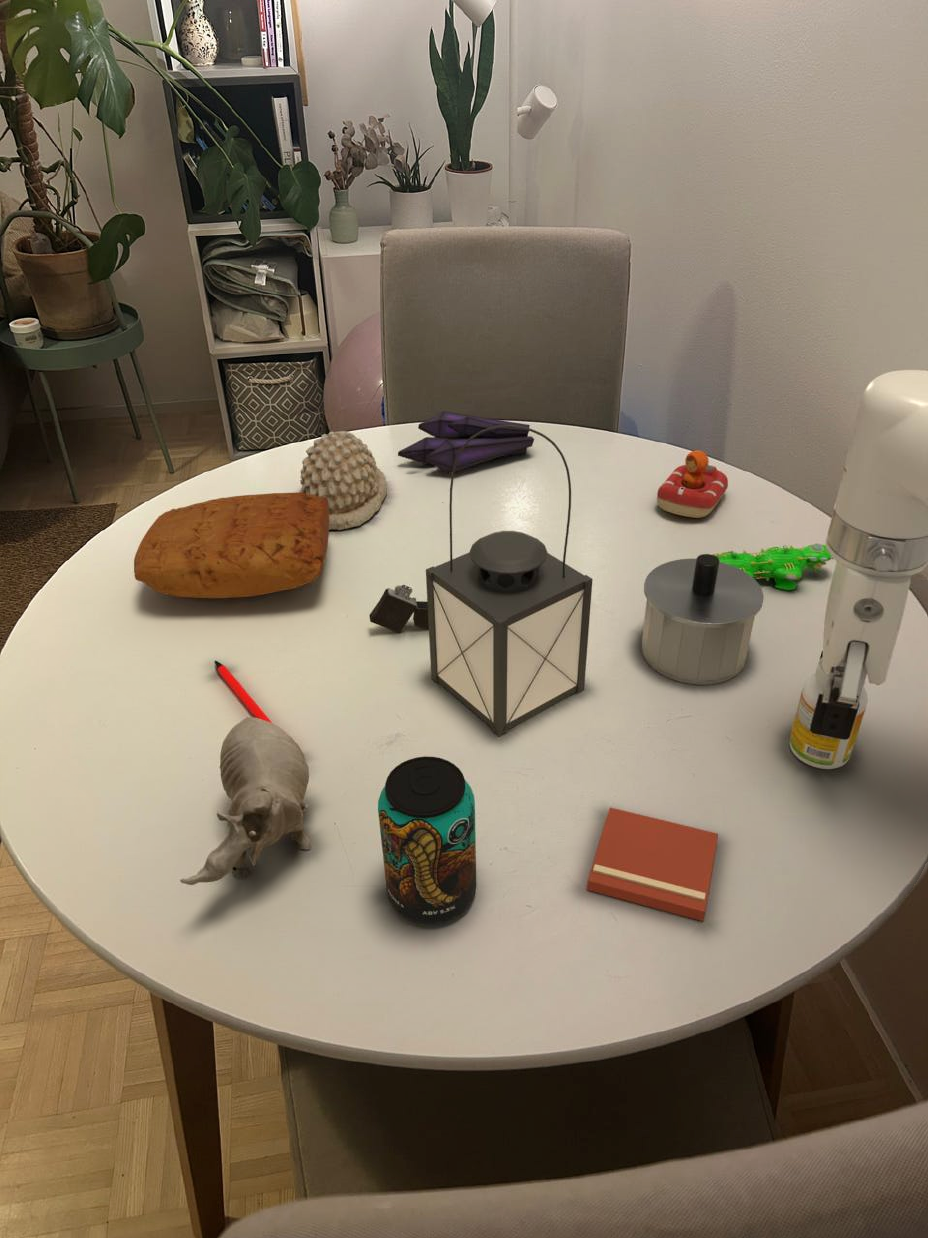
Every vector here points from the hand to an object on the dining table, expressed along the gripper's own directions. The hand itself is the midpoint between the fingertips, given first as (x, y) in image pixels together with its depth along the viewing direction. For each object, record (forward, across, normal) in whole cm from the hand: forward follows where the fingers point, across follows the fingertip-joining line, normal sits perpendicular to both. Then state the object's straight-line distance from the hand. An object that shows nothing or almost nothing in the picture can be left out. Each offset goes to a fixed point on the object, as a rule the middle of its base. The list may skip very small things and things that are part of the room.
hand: (830, 710), depth 81 cm
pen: (+5, -12, +52) cm, 54 cm away
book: (+5, -18, +12) cm, 22 cm away
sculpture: (+5, +30, +63) cm, 70 cm away
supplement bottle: (+5, 0, 0) cm, 5 cm away
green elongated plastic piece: (+5, +27, +8) cm, 29 cm away
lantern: (+5, 0, +30) cm, 30 cm away
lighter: (+5, +6, +43) cm, 44 cm away
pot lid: (-3, +11, +13) cm, 17 cm away
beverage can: (+5, -26, +28) cm, 39 cm away
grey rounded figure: (+5, -26, +43) cm, 51 cm away
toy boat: (+5, +43, +18) cm, 47 cm away
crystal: (+5, +47, +51) cm, 69 cm away
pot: (+5, +11, +13) cm, 18 cm away
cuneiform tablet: (+5, +9, +66) cm, 67 cm away
